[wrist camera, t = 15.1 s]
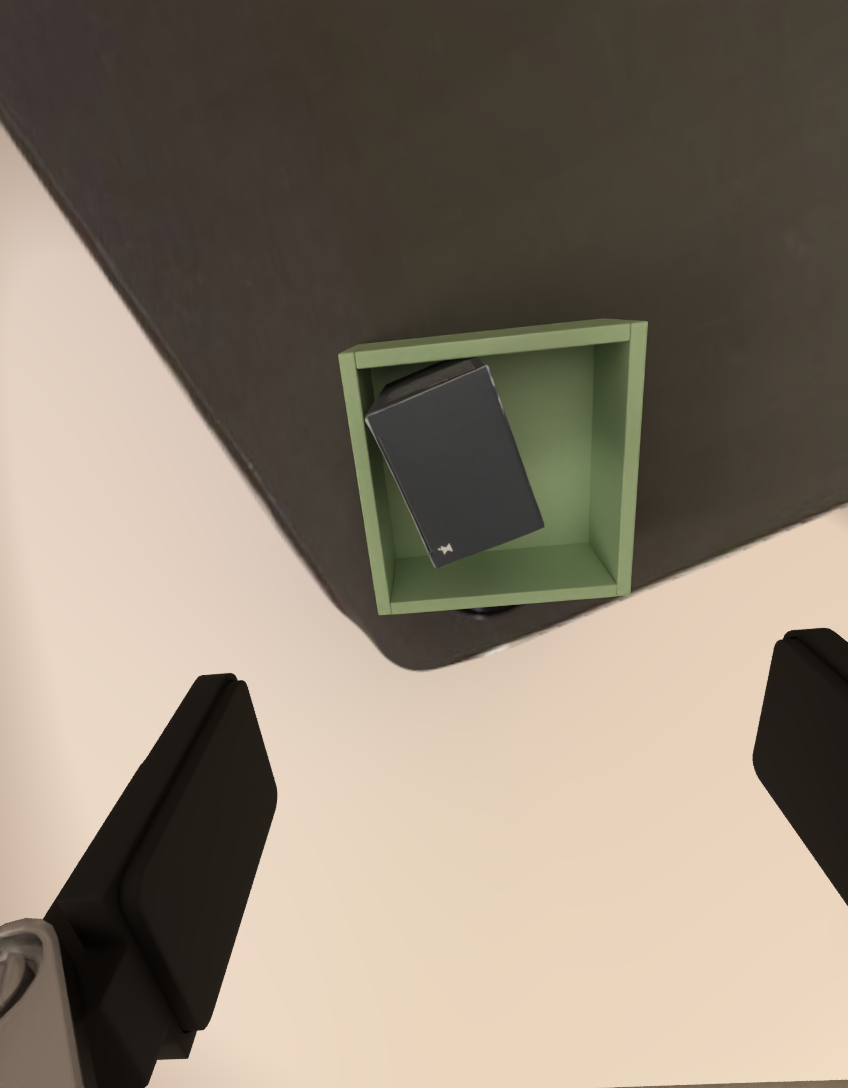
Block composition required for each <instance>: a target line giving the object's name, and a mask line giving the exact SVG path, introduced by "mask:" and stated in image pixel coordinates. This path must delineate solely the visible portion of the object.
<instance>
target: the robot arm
mask: <svg viewBox="0 0 848 1088" xmlns="http://www.w3.org/2000/svg"><path fill="white" fill-rule="evenodd" d="M753 766H754V769H755V772H756V774H757V776H758V778H759V780H760V781H761V782H762V784H763V785H764V787H765V788H766V790H767V791H768V793H769V794H770V795H771V797H772V798H773V800H774V801H775V803H776V804H777V805H778V807H779V808H780V810H781V811H782V812H783V814H784V815H785V817H786V818H787V820H788V821H789V823H790V824H791V825H792V827H793V828H794V830H795V831H796V833H797V834H798V835H799V837H800V838H801V839H802V841H803V843H804V844H805V845H806V847H807V848H808V850H809V851H810V852H811V854H812V855H813V857H814V858H815V860H816V861H817V862H818V864H819V865H820V867H821V868H822V870H823V871H824V873H825V874H826V876H827V877H828V878H829V880H830V881H831V883H832V884H833V886H834V887H835V888H836V890H837V891H838V893H839V894H840V896H841V897H842V898H843V900H844V901H845V903H846V904H847V906H848V642H847V641H845V640H844V639H843V638H842V637H841V636H839V635H838V634H837V633H835V632H834V631H832V630H831V629H828V628H816V629H803V630H791V631H788V632H787V633H786V634H785V635H784V638H783V640H779V641H777V642H776V644H775V646H774V651H773V656H772V661H771V666H770V671H769V676H768V681H767V686H766V691H765V696H764V701H763V706H762V711H761V716H760V721H759V726H758V731H757V736H756V741H755V746H754V751H753ZM276 804H277V787H276V783H275V780H274V777H273V773H272V769H271V766H270V762H269V759H268V756H267V752H266V749H265V746H264V742H263V738H262V735H261V731H260V728H259V725H258V721H257V718H256V714H255V711H254V707H253V704H252V700H251V697H250V693H249V690H248V687H247V684H246V683H245V681H243V680H240V681H238V680H237V678H236V676H235V675H234V674H232V673H225V674H212V675H202V676H199V677H198V678H197V679H196V680H195V682H194V683H193V685H192V686H191V688H190V690H189V691H188V693H187V695H186V696H185V698H184V699H183V701H182V702H181V704H180V706H179V707H178V709H177V710H176V712H175V714H174V715H173V717H172V718H171V720H170V721H169V723H168V725H167V726H166V728H165V729H164V731H163V733H162V734H161V736H160V737H159V739H158V741H157V742H156V744H155V745H154V747H153V749H152V750H151V752H150V753H149V755H148V756H147V758H146V759H145V760H144V762H143V763H142V764H141V765H140V767H139V768H138V770H137V771H136V773H135V775H134V776H133V778H132V779H131V781H130V782H129V784H128V786H127V787H126V789H125V790H124V792H123V794H122V795H121V797H120V798H119V800H118V801H117V803H116V804H115V806H114V808H113V809H112V811H111V812H110V814H109V816H108V817H107V819H106V820H105V822H104V823H103V825H102V827H101V828H100V830H99V831H98V833H97V835H96V836H95V838H94V839H93V841H92V842H91V844H90V845H89V847H88V849H87V850H86V852H85V853H84V855H83V857H82V858H81V860H80V861H79V863H78V865H77V866H76V868H75V869H74V871H73V872H72V874H71V876H70V877H69V879H68V880H67V882H66V884H65V885H64V887H63V888H62V890H61V891H60V893H59V895H58V896H57V898H56V899H55V901H54V902H53V904H52V906H51V907H50V909H49V910H48V912H47V913H46V915H45V917H44V918H43V920H42V919H32V918H31V919H30V918H25V919H20V920H17V921H13V922H9V923H6V924H4V925H2V926H0V1088H145V1087H146V1086H147V1085H148V1083H149V1081H150V1078H151V1075H152V1072H153V1070H154V1067H155V1064H156V1061H157V1060H163V1059H188V1057H189V1054H190V1051H191V1048H192V1045H193V1042H194V1038H195V1035H196V1032H197V1031H198V1030H204V1029H205V1028H206V1027H207V1025H208V1023H209V1022H210V1019H211V1017H212V1014H213V1011H214V1008H215V1005H216V1001H217V998H218V994H219V992H220V988H221V985H222V982H223V979H224V975H225V972H226V969H227V965H228V962H229V959H230V956H231V953H232V949H233V946H234V943H235V940H236V936H237V933H238V930H239V927H240V923H241V920H242V917H243V913H244V910H245V907H246V904H247V900H248V897H249V894H250V891H251V888H252V884H253V881H254V878H255V874H256V871H257V868H258V864H259V862H260V858H261V855H262V852H263V849H264V845H265V842H266V839H267V836H268V832H269V829H270V826H271V823H272V819H273V816H274V813H275V810H276ZM616 1088H848V1080H829V1081H794V1082H763V1083H761V1082H760V1083H730V1084H703V1085H674V1086H646V1087H645V1086H644V1087H616Z"/></svg>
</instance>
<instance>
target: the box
mask: <svg viewBox="0 0 848 1088" xmlns="http://www.w3.org/2000/svg"><path fill="white" fill-rule="evenodd" d="M365 422H366V423H367V425H368V427H369V428H370V430H371V432H372V434H373V436H374V438H375V440H376V442H377V444H378V446H379V448H380V450H381V452H382V454H383V456H384V458H385V460H386V462H387V465H388V467H389V469H390V471H391V473H392V475H393V477H394V479H395V481H396V483H397V485H398V487H399V489H400V492H401V494H402V496H403V499H404V501H405V503H406V505H407V507H408V509H409V512H410V514H411V516H412V518H413V520H414V522H415V525H416V527H417V530H418V532H419V534H420V536H421V538H422V541H423V543H424V545H425V548H426V550H427V552H428V555H429V557H430V560H431V562H432V564H433V566H434V567H435V568H437V569H438V568H441V567H443V566H446V565H448V564H451V563H453V562H456V561H459V560H461V559H464V558H466V557H469V556H472V555H474V554H477V553H480V552H482V551H485V550H488V549H491V548H493V547H496V546H498V545H501V544H504V543H507V542H509V541H512V540H515V539H517V538H520V537H522V536H525V535H527V534H530V533H532V532H535V531H537V530H540V529H542V528H544V527H545V526H544V521H543V519H542V516H541V513H540V510H539V507H538V505H537V502H536V499H535V497H534V494H533V491H532V488H531V485H530V482H529V480H528V477H527V474H526V471H525V468H524V465H523V462H522V460H521V457H520V454H519V451H518V448H517V445H516V442H515V439H514V436H513V434H512V431H511V428H510V425H509V423H508V420H507V417H506V415H505V412H504V409H503V406H502V403H501V401H500V398H499V395H498V392H497V389H496V387H495V384H494V381H493V378H492V375H491V372H490V369H489V367H488V365H486V364H485V363H483V362H482V361H481V360H480V359H479V358H478V357H471V358H461V359H452V360H442V361H440V362H438V363H435V364H433V365H431V366H429V367H426V368H424V369H422V370H419V371H417V372H414V373H412V374H410V375H407V376H405V377H403V378H400V379H398V380H395V381H393V382H391V383H388V384H386V385H385V387H384V388H383V390H382V392H381V393H380V395H378V397H377V399H376V400H375V402H374V404H373V405H372V407H371V408H370V409H369V411H368V413H367V414H366V417H365Z"/></svg>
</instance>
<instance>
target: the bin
mask: <svg viewBox="0 0 848 1088" xmlns="http://www.w3.org/2000/svg"><path fill="white" fill-rule="evenodd" d="M647 329H648V322H647V321H636V320H619V319H604V318H602V319H593V320H583V321H574V322H564V323H555V324H546V325H536V326H527V327H517V328H508V329H498V330H489V331H480V332H470V333H461V334H451V335H442V336H432V337H423V338H414V339H404V340H395V341H385V342H376V343H366V344H357V345H355V346H354V347H352V348H350V349H348V350H346V351H344V352H342V353H340V354H338V358H339V364H340V371H341V377H342V384H343V390H344V397H345V403H346V409H347V416H348V422H349V429H350V435H351V442H352V448H353V454H354V461H355V467H356V474H357V480H358V486H359V493H360V499H361V506H362V512H363V519H364V525H365V531H366V538H367V544H368V551H369V557H370V564H371V570H372V576H373V583H374V589H375V596H376V602H377V608H378V614H379V615H388V614H404V613H417V612H429V611H442V610H454V609H466V608H479V607H491V606H504V605H516V604H528V603H541V602H553V601H566V600H578V599H591V598H603V597H615V596H616V595H617V596H624V595H630V590H631V574H632V559H633V544H634V528H635V513H636V498H637V482H638V467H639V452H640V436H641V421H642V405H643V390H644V375H645V359H646V344H647ZM471 357H478V358H479V359H480V360H481V361H482V362H483V363H485V364H486V365H488V367H489V369H490V372H491V375H492V378H493V381H494V384H495V387H496V389H497V392H498V395H499V398H500V401H501V403H502V406H503V409H504V412H505V415H506V417H507V420H508V423H509V425H510V428H511V431H512V434H513V436H514V439H515V442H516V445H517V448H518V451H519V454H520V457H521V460H522V462H523V465H524V468H525V471H526V474H527V477H528V480H529V482H530V485H531V488H532V491H533V494H534V497H535V499H536V502H537V505H538V507H539V510H540V513H541V516H542V519H543V521H544V526H545V527H544V528H542V529H540V530H537V531H535V532H532V533H530V534H527V535H525V536H522V537H520V538H517V539H515V540H512V541H509V542H507V543H504V544H501V545H498V546H496V547H493V548H491V549H488V550H485V551H482V552H480V553H477V554H474V555H472V556H469V557H466V558H464V559H461V560H459V561H456V562H453V563H451V564H448V565H446V566H443V567H441V568H438V569H437V568H435V567H434V566H433V564H432V562H431V560H430V557H429V555H428V552H427V550H426V548H425V545H424V543H423V541H422V538H421V536H420V534H419V532H418V530H417V527H416V525H415V522H414V520H413V518H412V516H411V514H410V512H409V509H408V507H407V505H406V503H405V501H404V499H403V496H402V494H401V492H400V489H399V487H398V485H397V483H396V481H395V479H394V477H393V475H392V473H391V471H390V469H389V467H388V465H387V462H386V460H385V458H384V456H383V454H382V452H381V450H380V448H379V446H378V444H377V442H376V440H375V438H374V436H373V434H372V432H371V430H370V428H369V427H368V425H367V423H366V422H365V417H366V414H367V413H368V411H369V409H370V408H371V407H372V405H373V404H374V402H375V400H376V399H377V397H378V395H380V393H381V392H382V390H383V388H384V387H385V385H386V384H388V383H391V382H393V381H395V380H398V379H400V378H403V377H405V376H407V375H410V374H412V373H414V372H417V371H419V370H422V369H424V368H426V367H429V366H431V365H433V364H435V363H438V362H440V361H442V360H452V359H461V358H471Z"/></svg>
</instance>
